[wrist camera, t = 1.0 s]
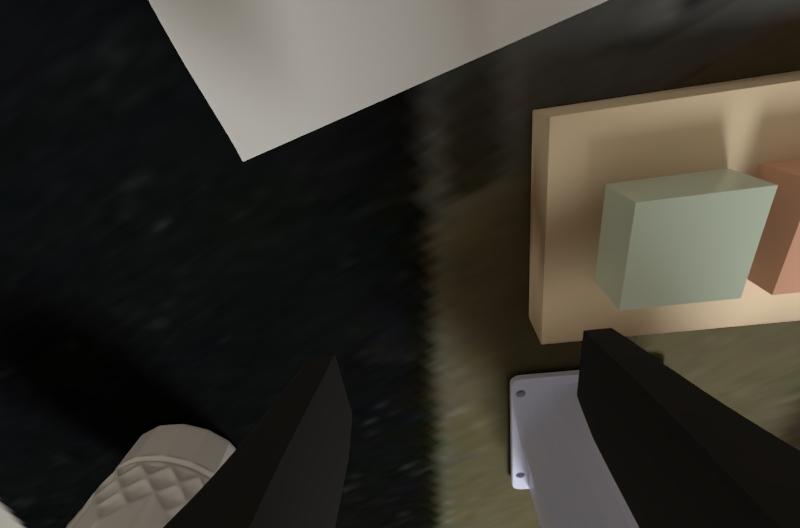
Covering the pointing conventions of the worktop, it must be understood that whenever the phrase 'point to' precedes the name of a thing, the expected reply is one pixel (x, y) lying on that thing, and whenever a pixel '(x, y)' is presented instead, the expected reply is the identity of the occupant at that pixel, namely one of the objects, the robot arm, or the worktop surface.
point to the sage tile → (680, 237)
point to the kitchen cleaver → (333, 53)
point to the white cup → (155, 478)
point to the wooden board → (640, 159)
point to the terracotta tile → (780, 232)
